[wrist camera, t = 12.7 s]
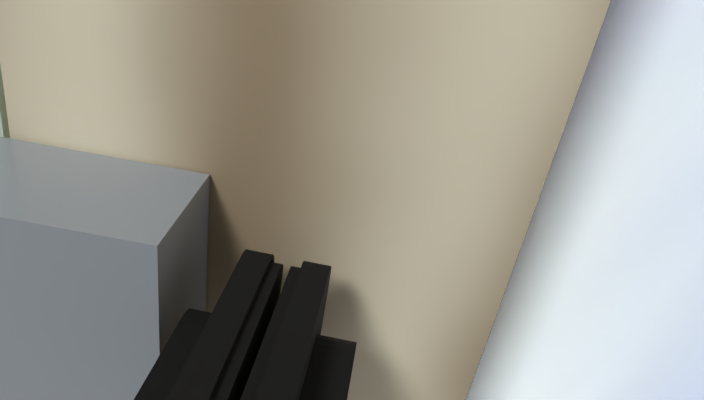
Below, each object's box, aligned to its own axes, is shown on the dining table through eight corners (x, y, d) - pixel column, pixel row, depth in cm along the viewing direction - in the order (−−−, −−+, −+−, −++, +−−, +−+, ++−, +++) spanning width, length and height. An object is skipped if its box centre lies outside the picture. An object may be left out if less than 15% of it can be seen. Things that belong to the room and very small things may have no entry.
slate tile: (209, 174, 11) (157, 245, 9) (204, 350, 13) (161, 441, 11) (-21, 133, 11) (-127, 193, 9) (11, 314, 14) (-68, 397, 11)
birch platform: (710, -457, 9) (830, -602, 6) (449, 350, 16) (450, 439, 14) (51, -566, 9) (-108, -748, 6) (100, 276, 17) (38, 349, 14)
